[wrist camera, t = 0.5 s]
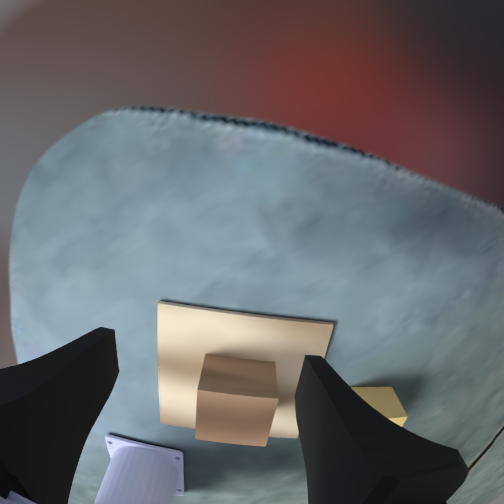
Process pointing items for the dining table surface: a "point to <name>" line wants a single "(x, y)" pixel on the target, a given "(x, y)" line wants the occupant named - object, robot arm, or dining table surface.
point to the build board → (231, 345)
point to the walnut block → (236, 400)
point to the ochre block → (383, 402)
